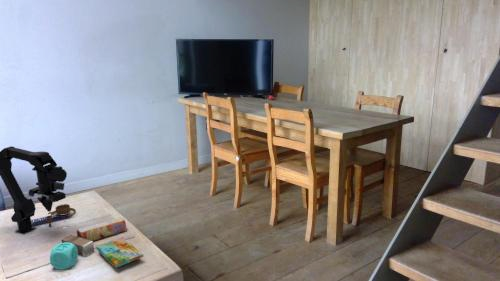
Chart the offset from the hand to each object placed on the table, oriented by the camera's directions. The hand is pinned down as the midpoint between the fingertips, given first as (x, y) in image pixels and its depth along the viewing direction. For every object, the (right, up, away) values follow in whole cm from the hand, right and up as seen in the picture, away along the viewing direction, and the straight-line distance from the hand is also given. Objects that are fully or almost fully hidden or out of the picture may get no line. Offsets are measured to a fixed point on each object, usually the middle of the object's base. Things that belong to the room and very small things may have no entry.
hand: (49, 211), depth 185 cm
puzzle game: (+39, -17, -18) cm, 46 cm away
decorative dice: (+18, -18, -23) cm, 34 cm away
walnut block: (+13, -12, -9) cm, 20 cm away
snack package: (+25, -12, +1) cm, 28 cm away
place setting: (-7, -8, +22) cm, 24 cm away
